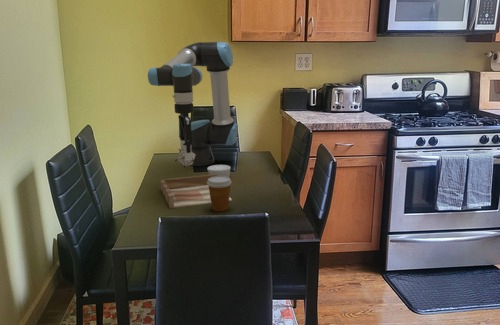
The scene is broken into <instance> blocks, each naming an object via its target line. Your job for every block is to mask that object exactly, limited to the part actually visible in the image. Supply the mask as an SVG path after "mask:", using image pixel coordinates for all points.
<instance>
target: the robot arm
mask: <svg viewBox="0 0 500 325" xmlns="http://www.w3.org/2000/svg"><path fill="white" fill-rule="evenodd" d="M233 55H234V54H233V50H232V47H231V46H230V44H229V43H228V42H226V41H207V42H206V41H203V42H201V41H200V42H194V43H191V44H189V45H187V46H184V47H183V48H181V49H180V50H179V51H178V52H177V54H176V56H174V57H173V58H171V59H170V60H168V61H167V62H166V63H164V64H163V65H162V66H159V67H156V66H155V67H151V68H149V70H148V71H147V79H148V83H149V85H150V86H156V87H160V86H161V87H169V86H171V87H173V95H172V98H173V100H174V103H175V104H174V113H175V114H177V115H178V114H179V115H178V116H177V117H178V132H179V133H178V134H179V135H178V138H179V141H180V150H182V149H185V161H188V160H192V152H193V153H195V154H198V155H196V157H195V160H194V163H193V164H194V166H193V165H191V166H192V167H203V166H209V165H210V166H211V165H213V164H214V163H215V157H214V155H213V151H212V148H211V147H212V146H215V145H217V146H233V145H234V144H236V141H237V138H238V131H239V127H238V123H236V122H234V121H235V120H234V118H233V117H232V116H231V108H230V107H231V105H230V92H229V78H228V72H229V71H230V69H231V67H232V66H233V63H234V61H233V60H234V57H233ZM197 67H205V68H206V72H208V73H209V75H210V85H211V86H210V87H211V96H212V97H211V99H212V107H213V119H212V120H211V121H210V119H201V120H195V121H192V120H191V117H190V116H189V114H192V113H193V112H194V103H193V102H194V91H193V87H195V86H197V85H199V84H200V83H201V82H202V81H203V73H202V71H201V69H200V68H197ZM211 145H212V146H211Z"/></svg>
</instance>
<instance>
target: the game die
mask: <svg viewBox="0 0 500 325" xmlns="http://www.w3.org/2000/svg"><path fill="white" fill-rule="evenodd" d="M178 151H179V152H178V155H177V158H176V159H175V160H174V161H175V162H178V163H179V164H181V166H183V168H184V169H185V168H186V167H189V166H192V165H193V166H192V167H195V166H194V164H193V163H194V160H195V157H196V155H198V154H195V153H193V152H192V160H188V161H185V149H182V150H181V148H178Z"/></svg>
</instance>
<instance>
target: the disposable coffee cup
mask: <svg viewBox="0 0 500 325" xmlns="http://www.w3.org/2000/svg"><path fill="white" fill-rule="evenodd" d="M232 183H233V182H232V180H231V178H230V176H229V177H226V176H215V177H211V178H209V179H208V182H207V184H208V186H209V192H210V198H211V203H210V204H211V209H212V210H213V211H215V212H224V211H228V209H229V204H230V201H229V197H230V195H231V194H230V192H231V186H232Z"/></svg>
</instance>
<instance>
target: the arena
mask: <svg viewBox="0 0 500 325" xmlns="http://www.w3.org/2000/svg"><path fill="white" fill-rule="evenodd" d="M215 176H217V174H212V175H209V174H204V175H193V176H183V177H175V178H167V179H166V178H164V179H160V190H161V191H160V192H161V193H162V194H163V197H164V199H165V201H166V204H168V207H169V209H175V208H176V209H177V208H183V207H184V208H185V207H192V206H200V205H208V204H211V198H210V192H209V186H208V184H207V182H208V179H209V178H211V177H215ZM229 202H233V199H232V198H231V196H229Z"/></svg>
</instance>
